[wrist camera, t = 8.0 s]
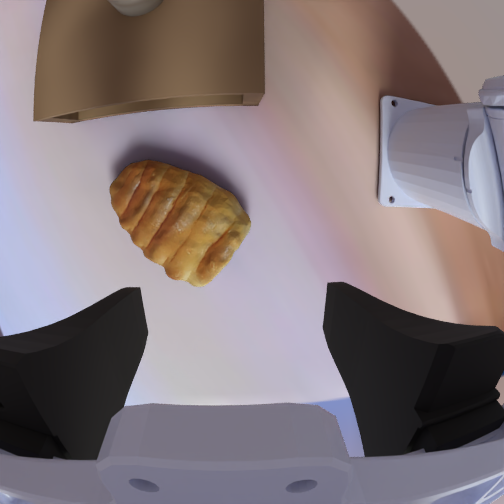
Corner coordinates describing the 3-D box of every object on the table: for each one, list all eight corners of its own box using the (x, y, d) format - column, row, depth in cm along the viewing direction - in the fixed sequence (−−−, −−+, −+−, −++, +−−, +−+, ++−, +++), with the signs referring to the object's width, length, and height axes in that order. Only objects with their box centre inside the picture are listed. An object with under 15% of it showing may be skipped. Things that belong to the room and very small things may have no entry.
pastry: (101, 212, 21) (78, 226, 17) (150, 133, 19) (133, 131, 16) (205, 285, 23) (200, 310, 19) (261, 212, 21) (266, 226, 18)
